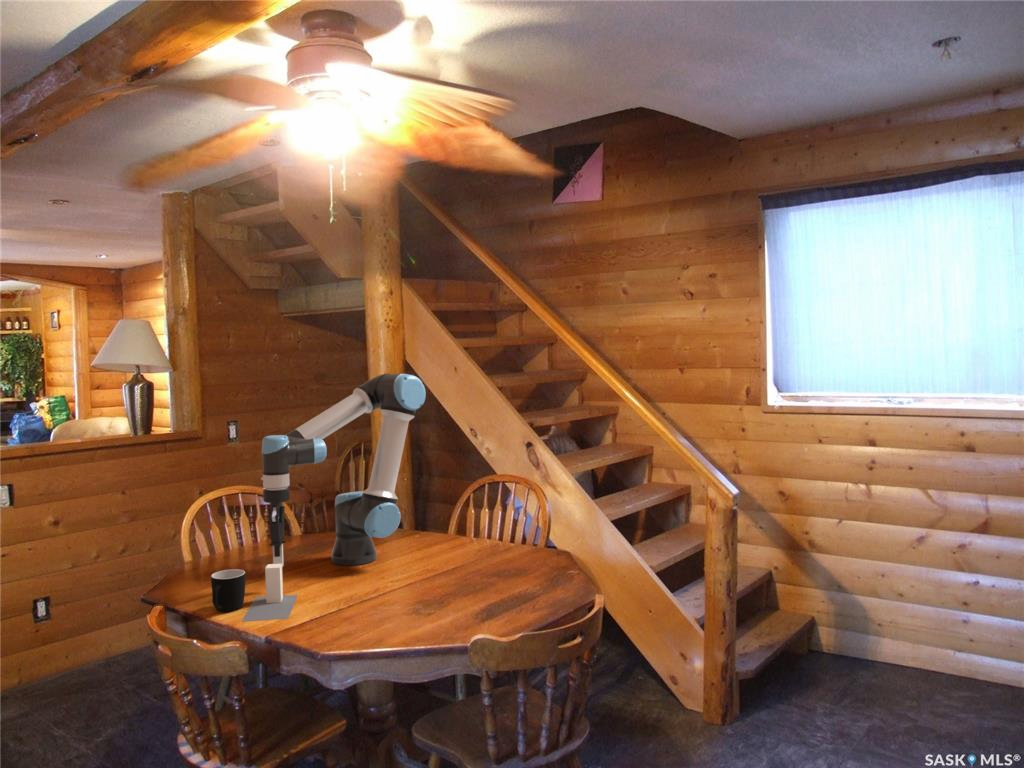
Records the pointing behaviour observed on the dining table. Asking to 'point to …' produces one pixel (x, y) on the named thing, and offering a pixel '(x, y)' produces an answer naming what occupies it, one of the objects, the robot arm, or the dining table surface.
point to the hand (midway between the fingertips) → (278, 566)
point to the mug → (228, 590)
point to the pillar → (274, 583)
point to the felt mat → (270, 609)
